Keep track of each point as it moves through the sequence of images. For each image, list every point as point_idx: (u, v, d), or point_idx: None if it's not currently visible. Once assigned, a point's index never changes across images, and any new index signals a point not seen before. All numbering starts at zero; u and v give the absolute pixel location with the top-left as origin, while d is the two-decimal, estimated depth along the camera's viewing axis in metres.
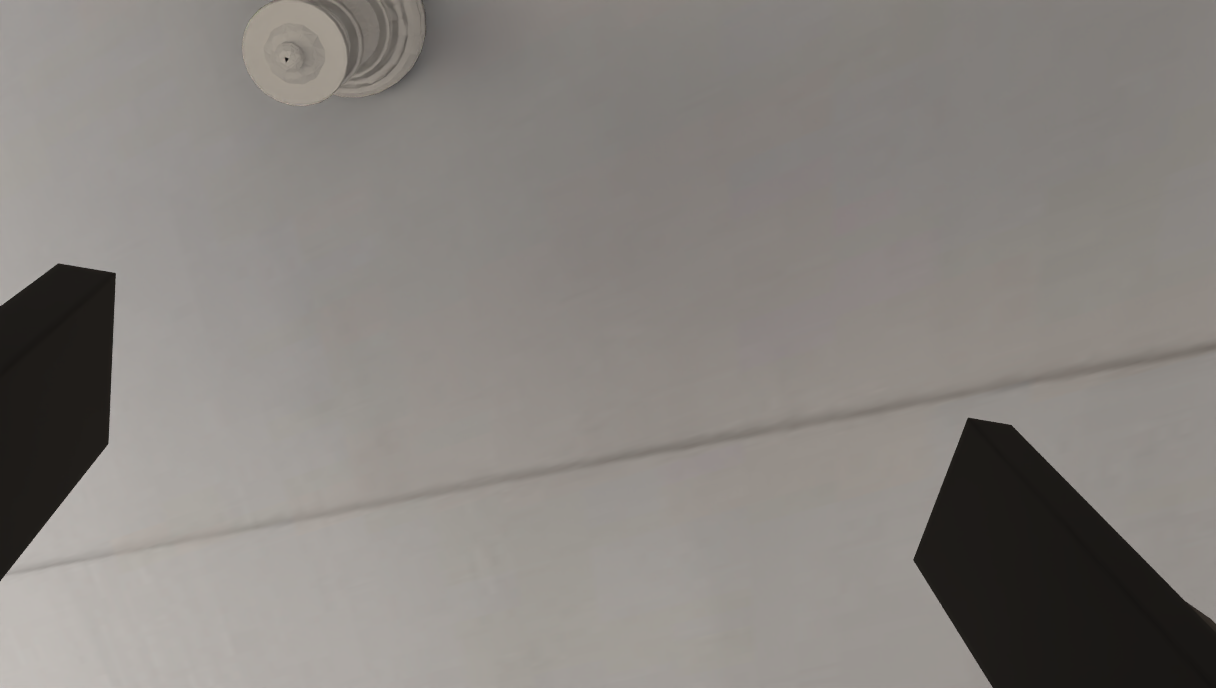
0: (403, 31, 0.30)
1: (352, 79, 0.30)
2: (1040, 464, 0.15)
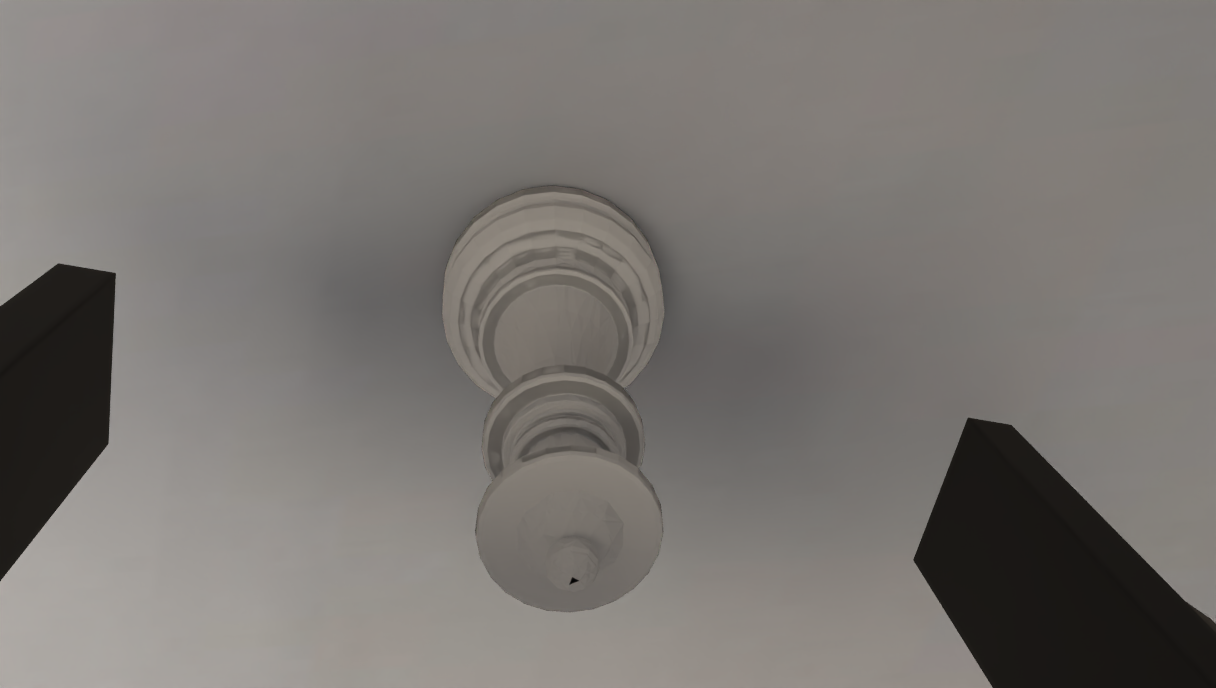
0: (633, 359, 0.20)
1: None
2: (1040, 464, 0.15)
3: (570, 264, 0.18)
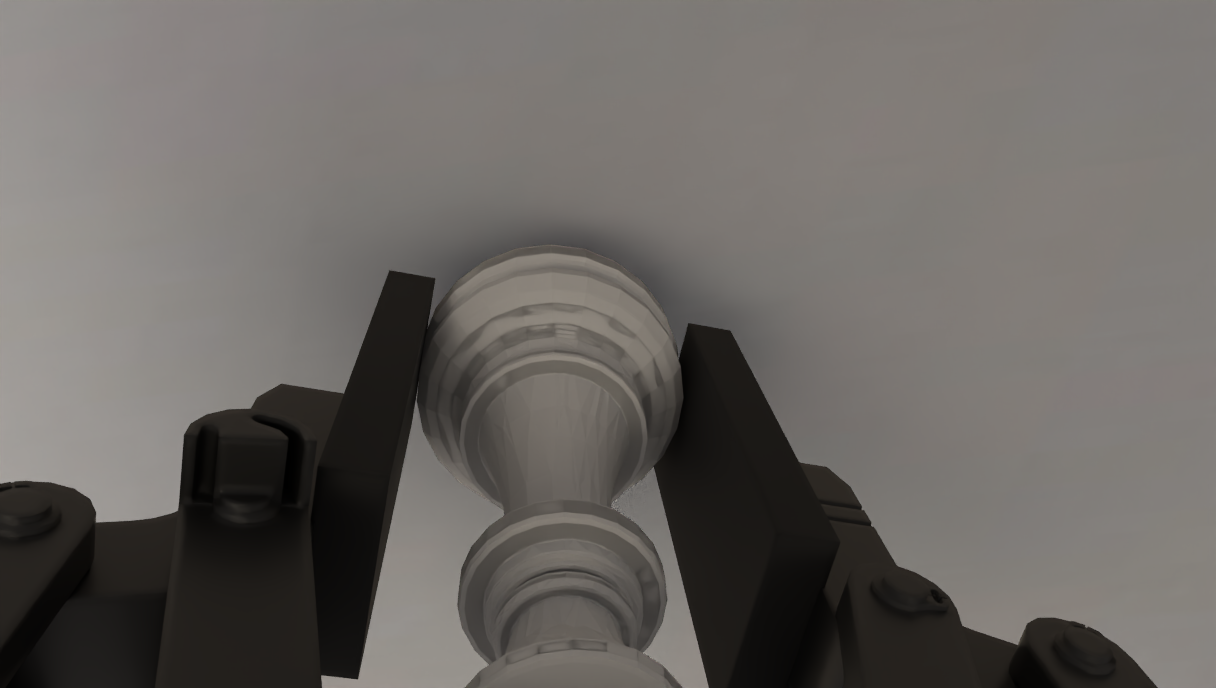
0: (646, 454, 0.16)
1: None
2: (735, 359, 0.16)
3: (570, 346, 0.15)
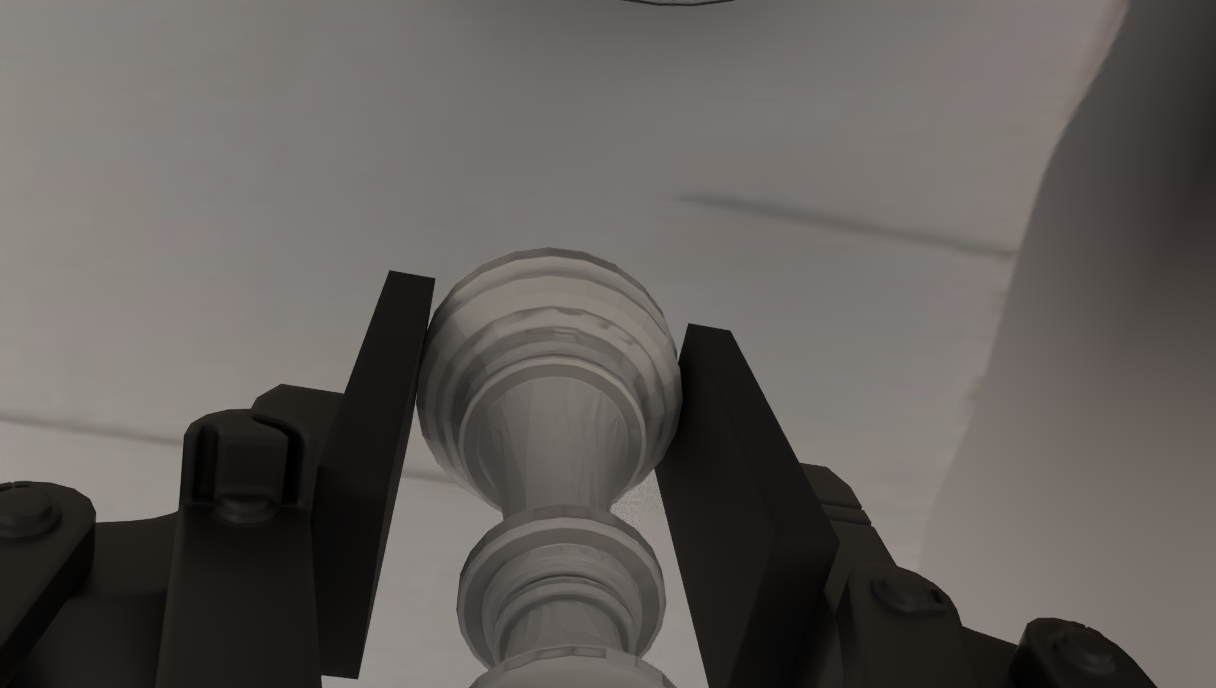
0: (645, 457, 0.16)
1: None
2: (735, 359, 0.16)
3: (569, 349, 0.15)
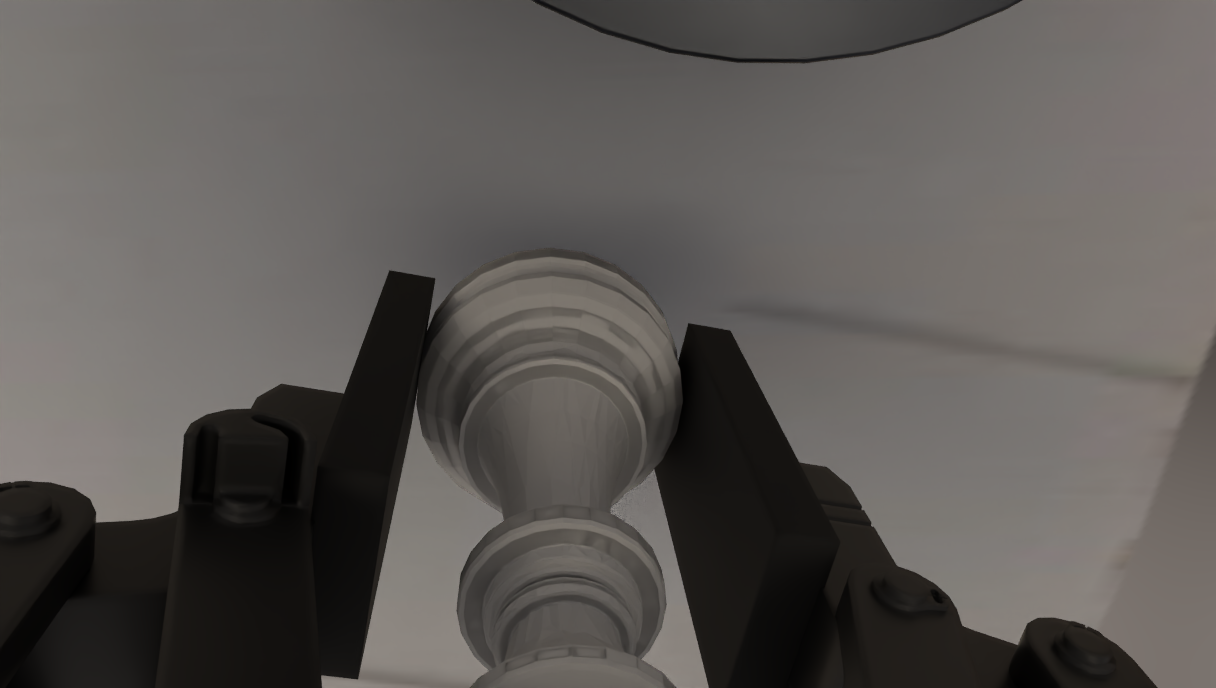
0: (646, 458, 0.16)
1: None
2: (735, 359, 0.16)
3: (569, 350, 0.15)
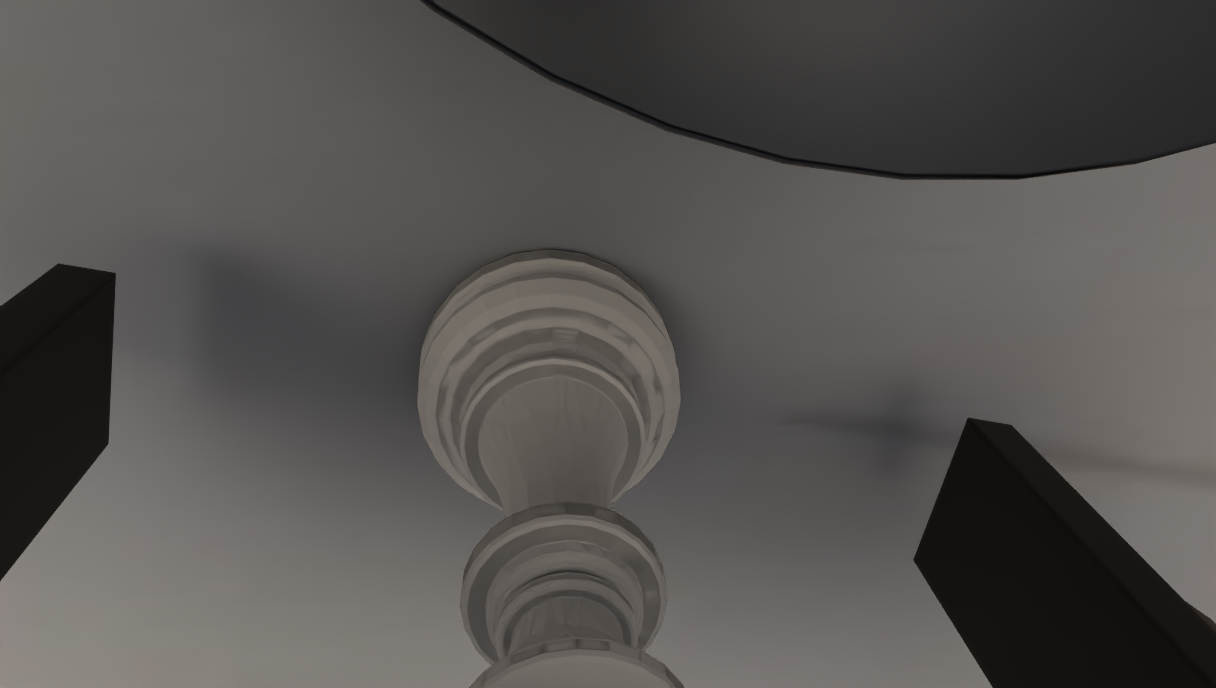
0: (644, 457, 0.16)
1: None
2: (1040, 464, 0.15)
3: (569, 350, 0.15)
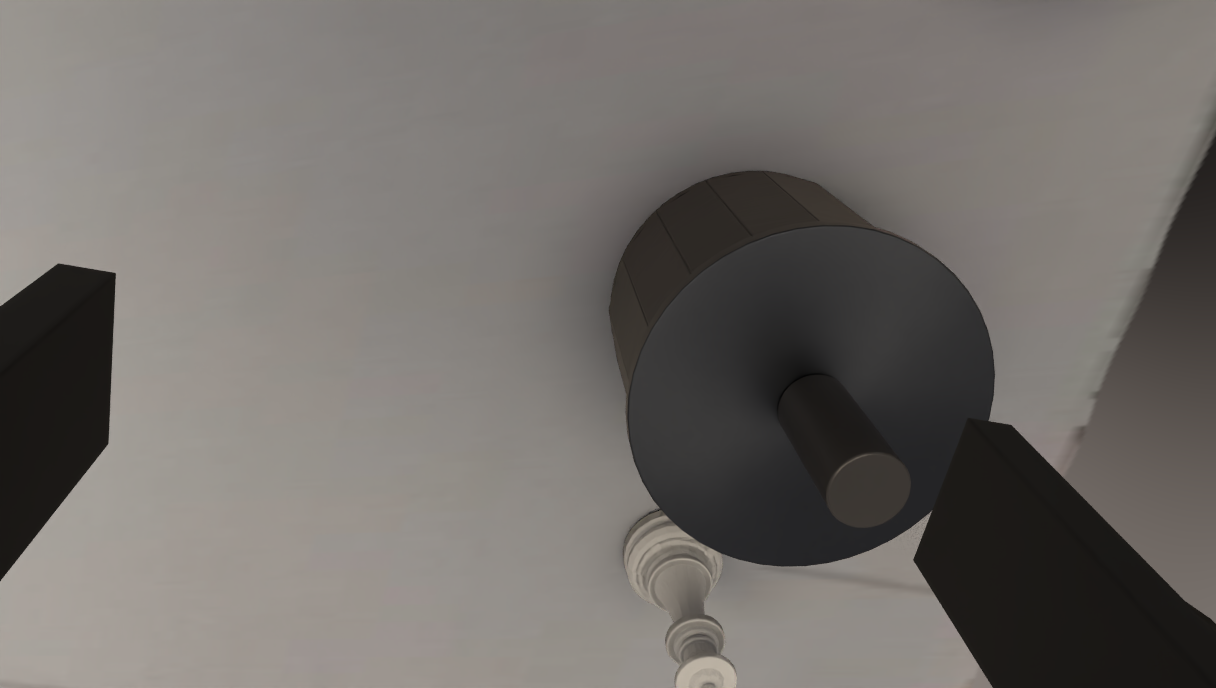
0: None
1: None
2: (1040, 464, 0.15)
3: (686, 553, 0.44)
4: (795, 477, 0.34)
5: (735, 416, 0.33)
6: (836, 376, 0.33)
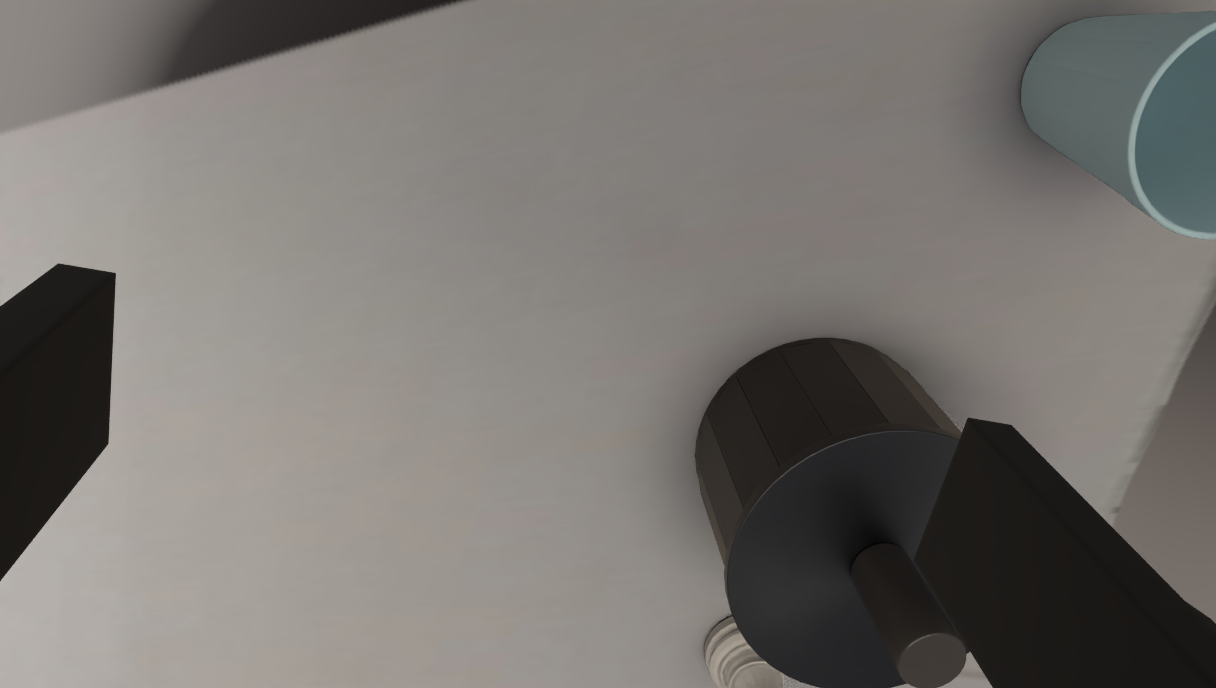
0: None
1: None
2: (1040, 464, 0.15)
3: None
4: (864, 622, 0.41)
5: (815, 577, 0.40)
6: (899, 544, 0.40)
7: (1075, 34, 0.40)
